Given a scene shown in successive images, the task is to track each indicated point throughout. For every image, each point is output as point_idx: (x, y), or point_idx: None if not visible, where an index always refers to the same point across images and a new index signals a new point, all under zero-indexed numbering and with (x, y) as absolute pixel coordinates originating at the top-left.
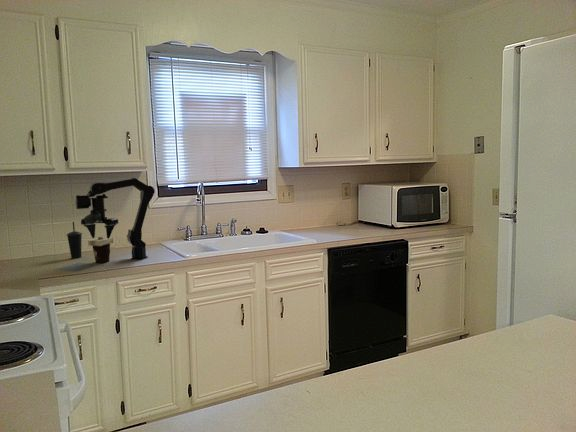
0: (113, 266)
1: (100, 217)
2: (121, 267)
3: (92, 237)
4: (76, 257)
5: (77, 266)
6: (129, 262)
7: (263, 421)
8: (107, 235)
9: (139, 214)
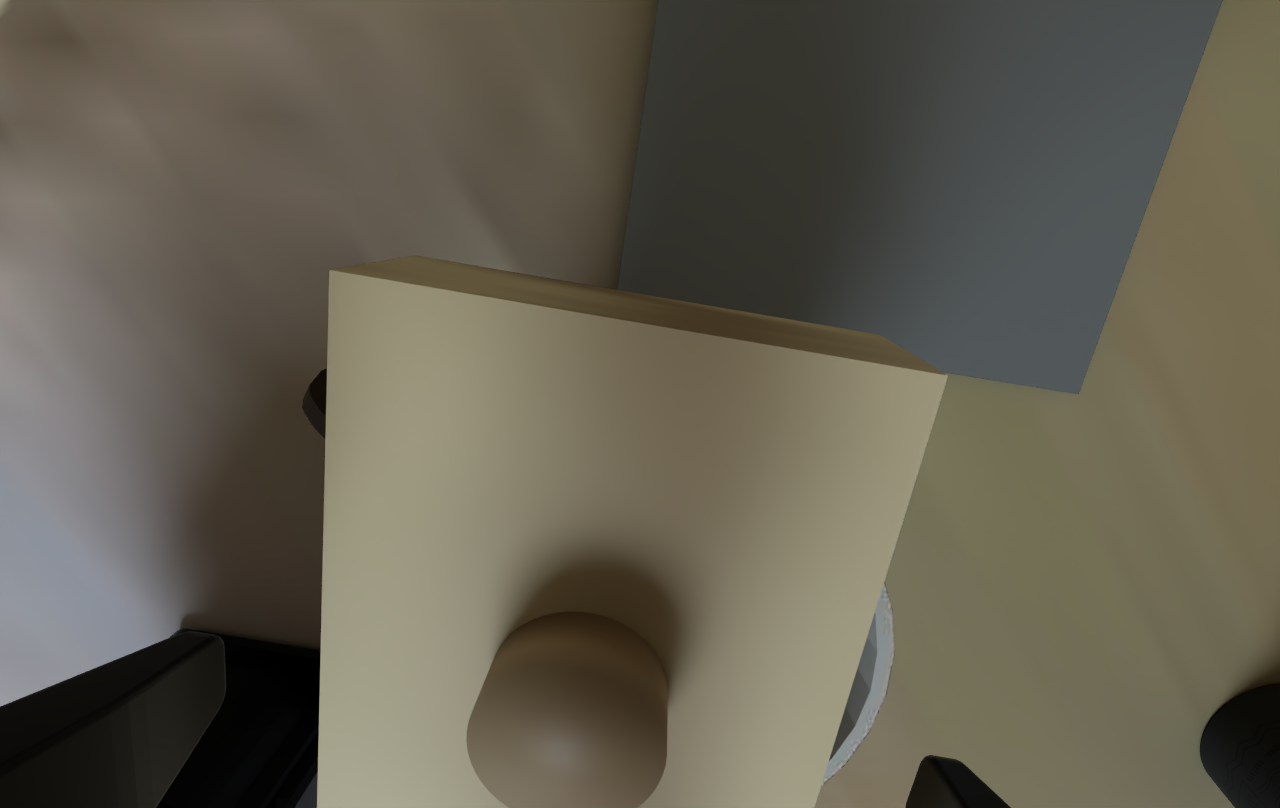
0: (299, 185)
1: None
2: (108, 111)
3: (953, 768)
4: (1270, 711)
5: (934, 88)
6: (235, 472)
7: None
8: (67, 700)
9: None
